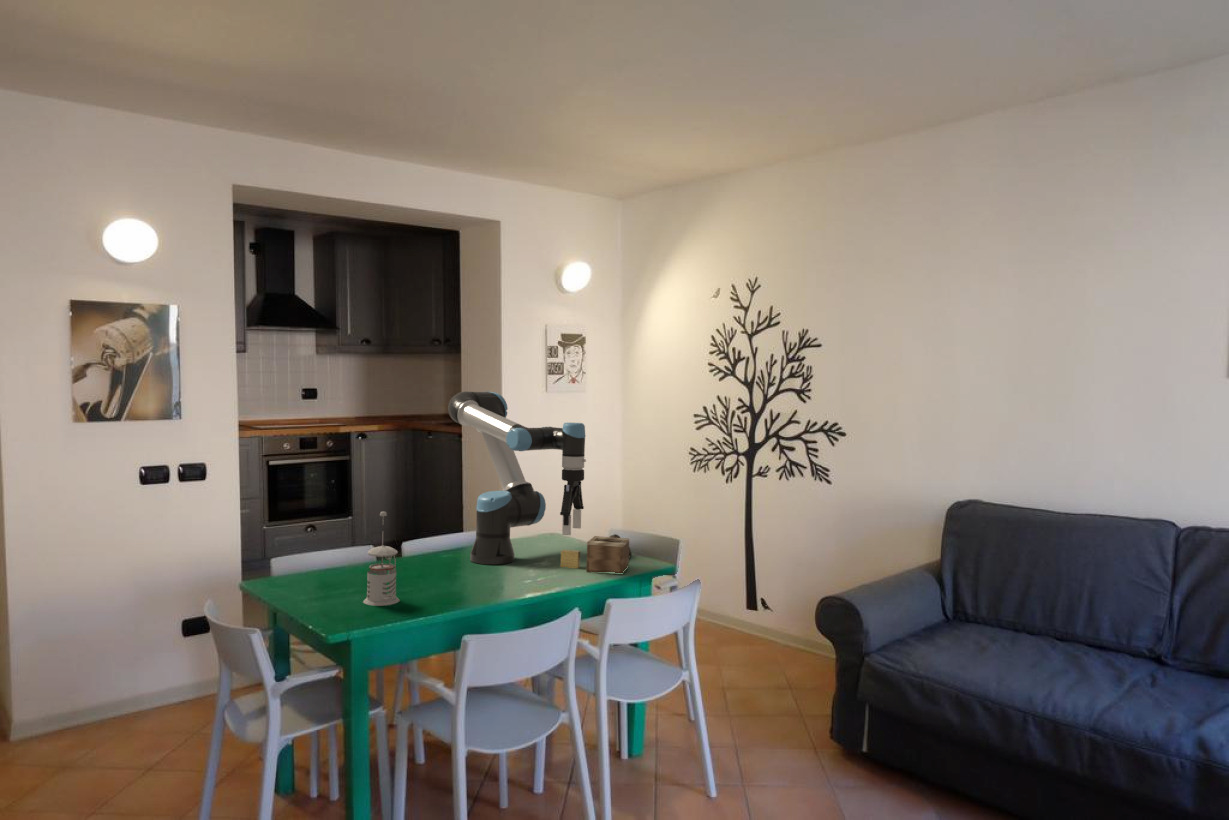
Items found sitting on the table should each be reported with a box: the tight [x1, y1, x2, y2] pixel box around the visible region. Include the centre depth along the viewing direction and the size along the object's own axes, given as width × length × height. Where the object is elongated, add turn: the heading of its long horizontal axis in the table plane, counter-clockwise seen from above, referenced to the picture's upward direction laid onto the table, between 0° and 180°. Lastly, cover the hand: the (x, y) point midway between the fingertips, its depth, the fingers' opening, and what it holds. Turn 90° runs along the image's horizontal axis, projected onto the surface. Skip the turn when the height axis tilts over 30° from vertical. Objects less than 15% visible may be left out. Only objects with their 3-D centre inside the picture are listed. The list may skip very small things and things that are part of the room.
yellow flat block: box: [560, 549, 581, 569], centre depth 277 cm, size 6×2×6 cm, turn 78°
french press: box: [362, 511, 401, 607], centre depth 229 cm, size 10×12×25 cm
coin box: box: [585, 535, 630, 574], centre depth 275 cm, size 12×11×10 cm
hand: (571, 531), depth 277 cm, fingers open, 13 cm apart
